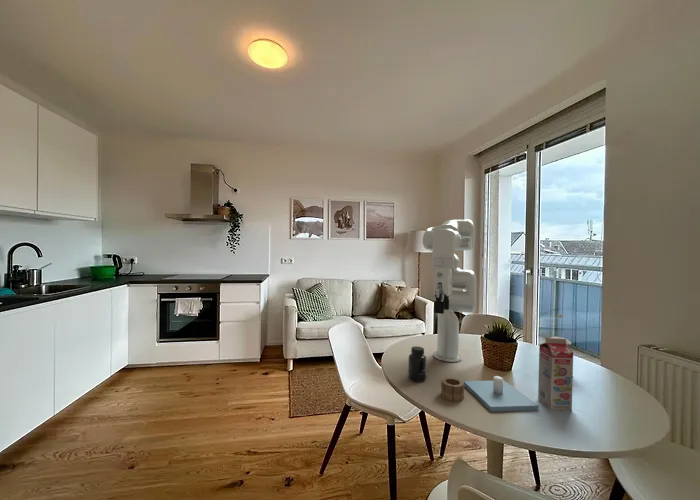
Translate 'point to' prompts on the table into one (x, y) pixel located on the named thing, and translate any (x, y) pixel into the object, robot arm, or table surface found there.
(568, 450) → the table surface
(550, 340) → the juice carton
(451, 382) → the walnut ring
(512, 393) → the post board
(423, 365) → the supplement bottle
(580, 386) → the table surface
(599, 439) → the table surface
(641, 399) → the table surface
